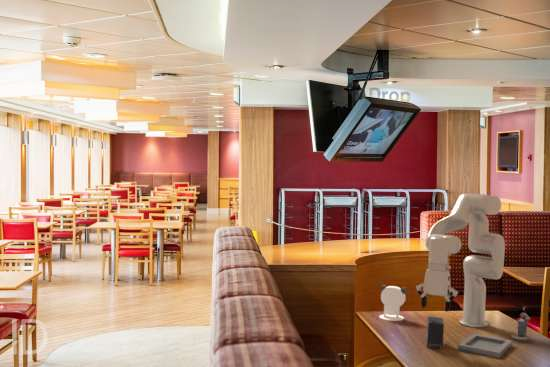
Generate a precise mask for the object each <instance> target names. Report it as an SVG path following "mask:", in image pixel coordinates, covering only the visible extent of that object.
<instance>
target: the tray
mask: <svg viewBox="0 0 550 367" xmlns="http://www.w3.org/2000/svg"><path fill="white" fill-rule="evenodd" d="M512 346H513V340H511V339H506V338H505V339H504V338H499V337H493V336H488V335H482V334H476V333H472V334H471V335H469V336H468V337H467V338H465V339H464V340H463V341H461V342H460V343H458V344H457V351H459V350H460V351H459V352H465V353H469V354H475V355H479V354H480V356H484V355H485V356H484V357H489V356H491V358H494V357H495V359H500V358H501V357H503V355H504V354H505V353H506V352H507V351H508V350H509V349H510V348H512Z"/></svg>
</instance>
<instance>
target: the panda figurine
mask: <svg viewBox="0 0 550 367" xmlns="http://www.w3.org/2000/svg"><path fill="white" fill-rule="evenodd" d="M380 289H381V294H380V300H381V303H382V304H383V314H380V315H379V318H380V319H381V320H383V321H389V322H400V321H403V320H405V317H404V316H402V315H400V310H402V306H403V304H404V303H405V302H406V299H407V298H406V297H407V296H406V293H407V291H408V289H407V287H406V286H403V287H402V288H401V287H399V286H395V285H388V286H387V285H386V284H383V285H381V286H380Z"/></svg>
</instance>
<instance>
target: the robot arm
mask: <svg viewBox="0 0 550 367" xmlns="http://www.w3.org/2000/svg"><path fill="white" fill-rule="evenodd" d="M501 209H502V202H501V198H499V196H497V195H490V194H483V193H482V194H481V193H471V192H470V193H466V192H465V193H462V194H460V195H459V196H458V198H457V199H456V201H455V203H454V205H453V208H452V209H451V211H450V213H449V215H448V216H446V217H443V218H442V219H440V220H438V221H436V223H435V222H434V224H433V225H432V226H431V228H430V230H429V232H428V233H427V235H426V239H425V247H426V249H427V250H428V264H427V265H428V266H427V267H428V268H426V271H425V275H424V280H423V282H422V283H420V284H418V285H416V286H415V288H416V291H417V293H418V295H419V296H420V298H421V303H420V304H421V305H420V306H421V307H422V308H423V309H424V308H426V307H427V301H428V297H427V296H428V295H430V296H431V295H432V296H438V297H443V298H444V299H445V300H446V301H445V308H444V309H445V310H444V311H445V312H449V311H450V310H451V307H452V306H451V305H452V304H451V303H452V301H453V300H454V299H456V297H457V296H458V294H459V291H458V290H456V289H455V288H454V287H452V285H451V274H450V270H451V268H452V266H451V265H449V264H448V263H449V261H448V260H449V254H450V255H454V254H457V253H459V252H460V250H462V241H461V239H460V237H458V236H457V235H456V236H455V235H451V234H450V235H449V234H447V233H449V232H450V233H451V232H455V231H459V230H462V229H465V228H467V226H468V225H469V226H468V242H467V246H468V249H469V251H471V252H473V253H477V254H485V255H490V256H491V257H490V256H484V255H476V254H474V255H473V254H472V255H471V254H470V255H468V256H466V257H465V258H464V259H463V263H462V265H463V266H462V267H463V275H464V277H463V278H464V287H463V288H464V289H463V290H464V291H463V310H462V312H463V313H462V318H460V319H459V322H458V323H459V324H461V325H462V326H465V327H470V328H485V327H488V326H489V323H488V321H487V320H485V318H486V314H485V313H486V298H487V286H486V283H485V280H484V279H491V280H499V279H501V278H502V276H503V274H504V265H505V264H504V263H505V250H506V244H505V243H506V242H505V239H504V236H503V235H501V234H499V233H493V232H489V228H490V227H489V225H490V222H489V218H488V217H487V215H490V216H492V215H493V216H494V215H498V214H499V213H500V212H501ZM483 278H484V279H483ZM422 287H423V289H421V288H422ZM451 293H452V294H451ZM450 294H451V295H450Z"/></svg>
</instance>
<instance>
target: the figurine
mask: <svg viewBox="0 0 550 367" xmlns="http://www.w3.org/2000/svg"><path fill="white" fill-rule="evenodd" d="M530 321H531V317H529V315H528V314H527V313H526V312H521V313H520V315H519V319H518V320H517V321H516V323H517V327H516V329H517V333H516V334H511V335H510V340H511V341H512V342H517V343H521V344H530V343H533V337H532V336H530V335H527V330H528V323H529V322H530Z"/></svg>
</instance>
